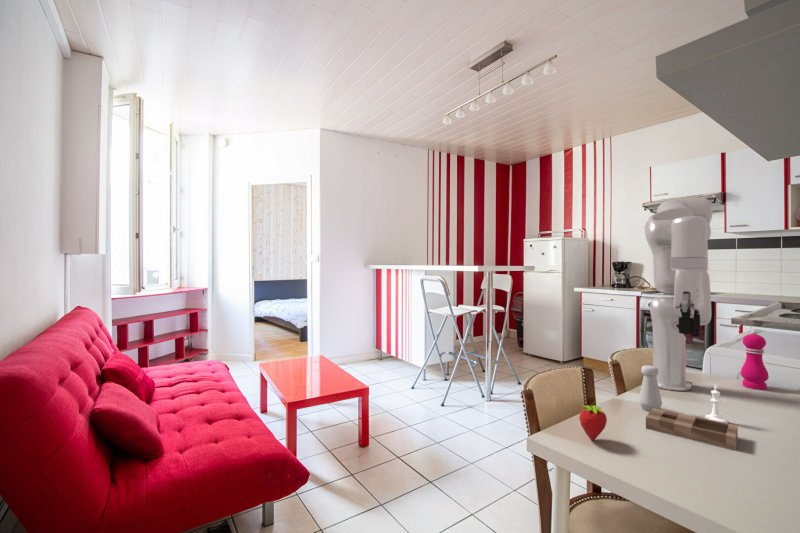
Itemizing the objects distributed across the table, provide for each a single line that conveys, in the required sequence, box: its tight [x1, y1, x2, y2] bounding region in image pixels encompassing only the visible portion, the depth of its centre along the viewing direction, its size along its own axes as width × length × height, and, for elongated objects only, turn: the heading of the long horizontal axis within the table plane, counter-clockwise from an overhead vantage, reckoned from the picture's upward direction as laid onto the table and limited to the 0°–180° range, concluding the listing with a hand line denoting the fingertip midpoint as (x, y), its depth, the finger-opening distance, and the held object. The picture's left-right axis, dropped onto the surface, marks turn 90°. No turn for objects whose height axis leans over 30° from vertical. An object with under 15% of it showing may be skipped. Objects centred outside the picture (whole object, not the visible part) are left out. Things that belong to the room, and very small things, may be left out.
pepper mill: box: [740, 329, 769, 391], centre depth 134 cm, size 7×7×20 cm
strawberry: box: [578, 401, 608, 441], centre depth 96 cm, size 6×8×10 cm
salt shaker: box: [638, 364, 663, 413], centre depth 115 cm, size 6×6×13 cm
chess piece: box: [704, 384, 728, 423], centre depth 107 cm, size 5×5×10 cm
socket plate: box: [645, 408, 739, 451], centre depth 99 cm, size 9×18×3 cm, turn 46°
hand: (689, 331), depth 99 cm, fingers open, 9 cm apart
